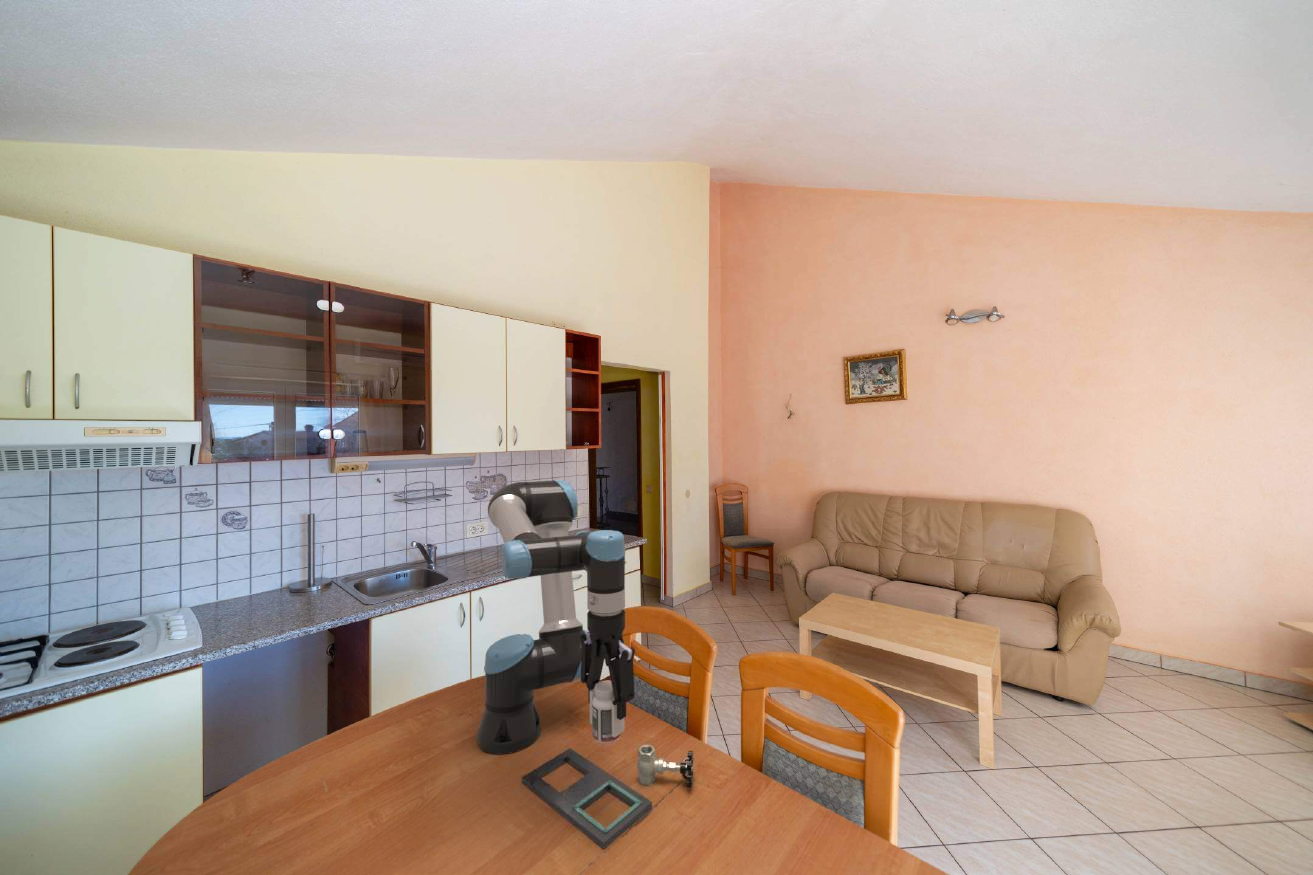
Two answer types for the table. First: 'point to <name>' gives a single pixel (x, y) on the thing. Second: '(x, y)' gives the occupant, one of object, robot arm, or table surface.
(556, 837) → the table surface
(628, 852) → the table surface
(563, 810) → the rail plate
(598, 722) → the pill bottle
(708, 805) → the table surface
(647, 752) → the valve
